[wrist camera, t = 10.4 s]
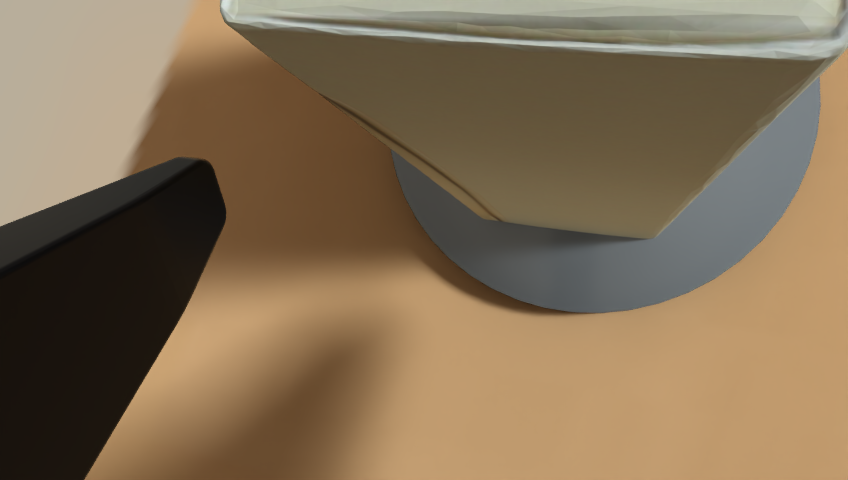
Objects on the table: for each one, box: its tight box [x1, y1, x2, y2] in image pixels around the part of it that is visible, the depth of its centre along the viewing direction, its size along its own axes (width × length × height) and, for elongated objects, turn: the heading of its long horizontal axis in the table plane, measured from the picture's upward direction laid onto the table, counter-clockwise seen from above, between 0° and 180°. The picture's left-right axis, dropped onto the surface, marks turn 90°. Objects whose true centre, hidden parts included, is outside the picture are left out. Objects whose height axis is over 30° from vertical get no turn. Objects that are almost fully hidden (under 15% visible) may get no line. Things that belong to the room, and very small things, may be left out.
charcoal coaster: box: [391, 77, 820, 313], centre depth 17 cm, size 10×10×1 cm
